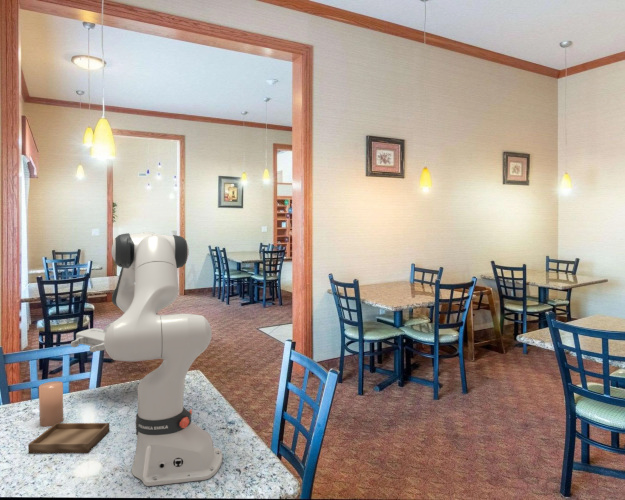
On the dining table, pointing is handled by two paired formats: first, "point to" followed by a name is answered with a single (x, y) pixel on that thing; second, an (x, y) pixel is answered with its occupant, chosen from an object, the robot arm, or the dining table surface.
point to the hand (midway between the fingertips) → (81, 347)
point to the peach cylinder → (51, 403)
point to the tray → (69, 438)
